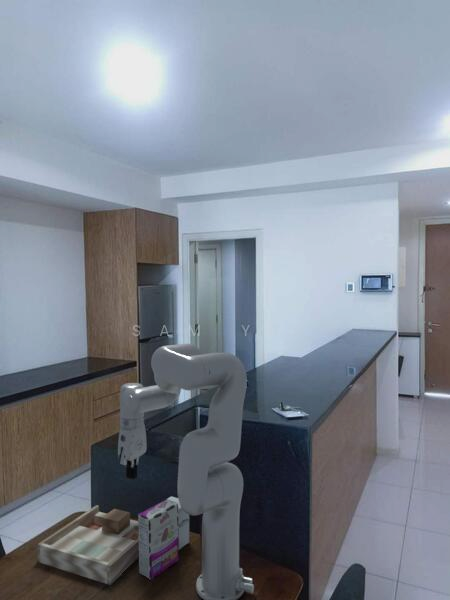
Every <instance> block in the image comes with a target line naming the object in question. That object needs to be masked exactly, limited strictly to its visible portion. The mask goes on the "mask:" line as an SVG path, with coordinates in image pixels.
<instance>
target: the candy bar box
mask: <svg viewBox="0 0 450 600" xmlns="http://www.w3.org/2000/svg"><path fill="white" fill-rule="evenodd" d="M137 521H138V538H139V558H138V574H139V573H141V574H142V575H144V576H146V577H147V578H146V577H145V578H146V579H148V578H149V579H148V580H150V581H151V579H152V580H153V579H154V577H155V576H156V577H158V576H159V575H160V574H161V572H162V571H163V572H165V571H166V570H167V569H168V567H169V568H170V567H172V566H173V565H174V564H176V563H177V562H178V561H180V552H179V550H180V549H179V534H178V503H175V502H173V501H170V500H168V498H166V499H164V500H162V501H161V502H159V503H157V504H155V505H153V506H151V507H149V508H147V509H146V510H144V511H142V512H140V513H138V514H137ZM165 569H166V570H165ZM163 572H162V573H163ZM159 573H160V574H159ZM141 574H140V575H141ZM158 574H159V575H158ZM142 575H141V576H142ZM144 576H143V577H144ZM156 577H155V578H156Z"/></svg>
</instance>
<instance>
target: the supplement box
mask: <svg viewBox="0 0 450 600" xmlns="http://www.w3.org/2000/svg"><path fill="white" fill-rule="evenodd" d="M167 499H168V500H170V501H173V502H175V503H178V534H179V550H181V549H182V548H183V547H185V546H186V545H187V544H189V543H190V515H189V514H187V513H185V512H184V511H183V509H182V508H181V506H180V503H179V499H178V497H175V496H169V497H168V498H167Z"/></svg>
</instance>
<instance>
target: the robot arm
mask: <svg viewBox="0 0 450 600" xmlns="http://www.w3.org/2000/svg"><path fill="white" fill-rule="evenodd" d="M150 364H151V365H150V366H151V370H152V372H153V378H154V382H155V385H150V386H149V385H148V386H144V385H143V384H142V383H139V382H127V383H123V384H122V385H121V386H120V392H119V394H120V397H119V398H120V400H119V401H120V403H119V405H120V406H119V414H120V415H119V416H120V417H119V425H120V426H119V427H120V428H119V433H118V440H117V441H118V443H117V455H118V456H117V457H118V459H119V460H120V462H119V463H120V465H122V466H125V477H126V479H131V480H135V479H136V478H137V477H138V465H139V459H140V457H141V456H143V455H144V454H145V453H146V451H147V450H148V449H147V432H146V425H145V421H144V420H145V419H144V418H145V415H144V414H145V413H148V412H150V411H151V412H152V411H155V410H160V409H161V410H162V409H165V408H167V407H169V406H170V405H171V404H173V403H174V402H175V401H176V400H178V398H180V395H181V391H182V390H184V391H191V392H192V391H197V390H199V391H200V390H203V389H208V388H209V389H210V388H214V387H217V390H216V391H215V393H214V395H213V397H212V398H211V400H210V404H209V408H208V418H207V419H208V420H207V424H206V426H204V427H201V428H198V429H197V428H196V429H195V430H192V431H190V432H188V433H187V434H185V436H184V438H183V439H182V440H181V443H180V446H179V453H178V469H177V470H178V473H177V498H178V499H179V503H180V506H181V508H182V509H183V511H184V512H185V513H187V514H189V516H199V515H201V514H202V518H201V519H202V521H201V573H200V575H199V576H198V577H197V578H196V582H195V591H196V593H197V594H198V596H199V597H200V599H203V600H238V599H239V598H240V597H242V595H243V594H244V592H246V593H250V594H254V589H255V584H253V577H249V576H245V575H244V574H243V569H244V568H242V567H240V510H241V503H242V502H241V501H242V497H243V492H244V478H243V477H244V476H243V474H242V471H241V470H240V469H239V468H238V466H237V465H235V464H234V463H231V462H230V461H232V460H234V459H235V458H237V457H238V456H239V453H240V450H241V442H242V441H241V439H242V427H243V426H242V425H243V412H244V411H243V409H244V404H245V403H244V402H245V398H246V397H245V396H246V392H247V384H248V379H247V378H248V377H247V372H246V369H245V366H244V363H242V361H241V360H240V358H239V357H238V356H236V355H234V354H233V353H229V352H223V351H222V352H212V353H211V352H210V353H203V352H202V350H201V349H200V348H199V346H197V345H195V344H191V343H180V344H179V343H178V344H169V345H162V346H159V347H158V348H157V349H155V351H154V353H152V356H151V361H150Z"/></svg>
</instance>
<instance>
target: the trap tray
mask: <svg viewBox="0 0 450 600" xmlns="http://www.w3.org/2000/svg"><path fill="white" fill-rule="evenodd" d="M106 514H107V512H106V513H105V512H101V511H100V506H99V505H98V504H96V505H94V506H93V507H91V508H89V509H88V510H87V511H85V512H84V513H82V514H81V515H79V516H78V517H76V518H75V519H73V520H72V521H70V522H69V523H67V524H66V525H64V526H62V527H61V528H60V529H58V530H57V531H55V532H54V533H52V534H51V535H49V536H48V537H46V538H44V539H43V540H42V541H40V542H39V543H37V563H39V564H43V565H47V566H50V567H52V568H56V569H58V570H62V571H65V572H68V573H71V574H75V575H76V576H77V575H78V576H80V577H84V578H87V579H90V580H93V581H97V582H99V583H103V584H106V585H109V586H112V584H113V583H114V582H116V580H117V579H118V578H119V577H120V576H122V575H123V574H124V573H125V572H126V571H127V570H128V569H129V568H130V567H131V566H132V565H133V564H134V563H135V562H136V561H137V560H138V559H139V558H138V557H139V538H137V539H136V540H132V539H133V538H134V536H135V535H134V534H138V520H133V519H132V518H130V526H128V527H127V528H126V529H125V530H123V531H122V532H121V533H120V534H119V535H117V534H113V533H110V532H106V531H102V517H103V516H105V515H106ZM133 535H134V536H133ZM137 558H138V559H137ZM136 559H137V560H136ZM135 560H136V561H135ZM134 561H135V562H134ZM133 562H134V563H133ZM132 563H133V564H132ZM131 564H132V565H131ZM130 565H131V566H130ZM129 566H130V567H129ZM128 567H129V568H128ZM127 568H128V569H127ZM126 569H127V570H126ZM125 570H126V571H125ZM124 571H125V572H124ZM123 572H124V573H123ZM122 573H123V574H122Z"/></svg>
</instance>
